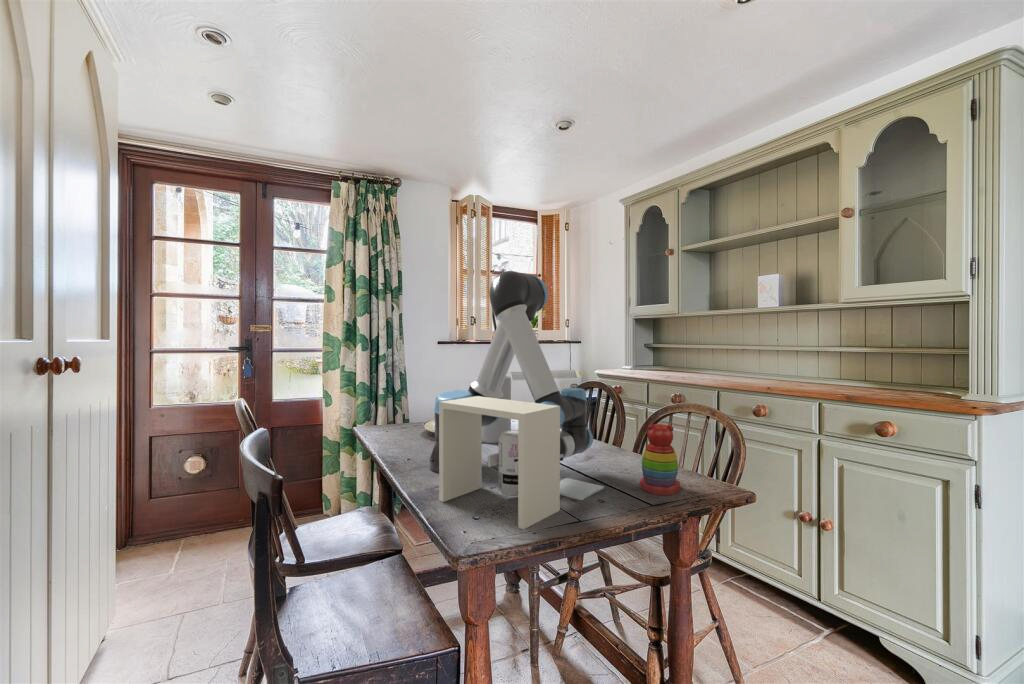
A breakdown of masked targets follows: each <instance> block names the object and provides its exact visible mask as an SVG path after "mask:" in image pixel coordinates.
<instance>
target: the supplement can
mask: <svg viewBox="0 0 1024 684" xmlns="http://www.w3.org/2000/svg"><path fill="white" fill-rule="evenodd" d="M498 453H499V464H498V491H500V493H501V494H502V495H505V496H507V497H518V474H517V473H515V462H517V461H518V429H511V430H508V431H503V432H501V435H500V437H499V444H498Z"/></svg>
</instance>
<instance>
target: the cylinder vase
mask: <svg viewBox="0 0 1024 684" xmlns="http://www.w3.org/2000/svg"><path fill="white" fill-rule="evenodd" d="M501 390H502V392H503V397H502V399H506V400H512V376H510V375H506V377H505V380H504V382H503V385H502V387H501ZM508 430H512V419H508V418H501V417H500V418H499V419H498V420H497V421H495V422H493V423H492V424H489V425H487V426H482V443H484V444H491V445H496V444H498V445H499V437H500V435H501V432H503V431H508Z"/></svg>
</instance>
